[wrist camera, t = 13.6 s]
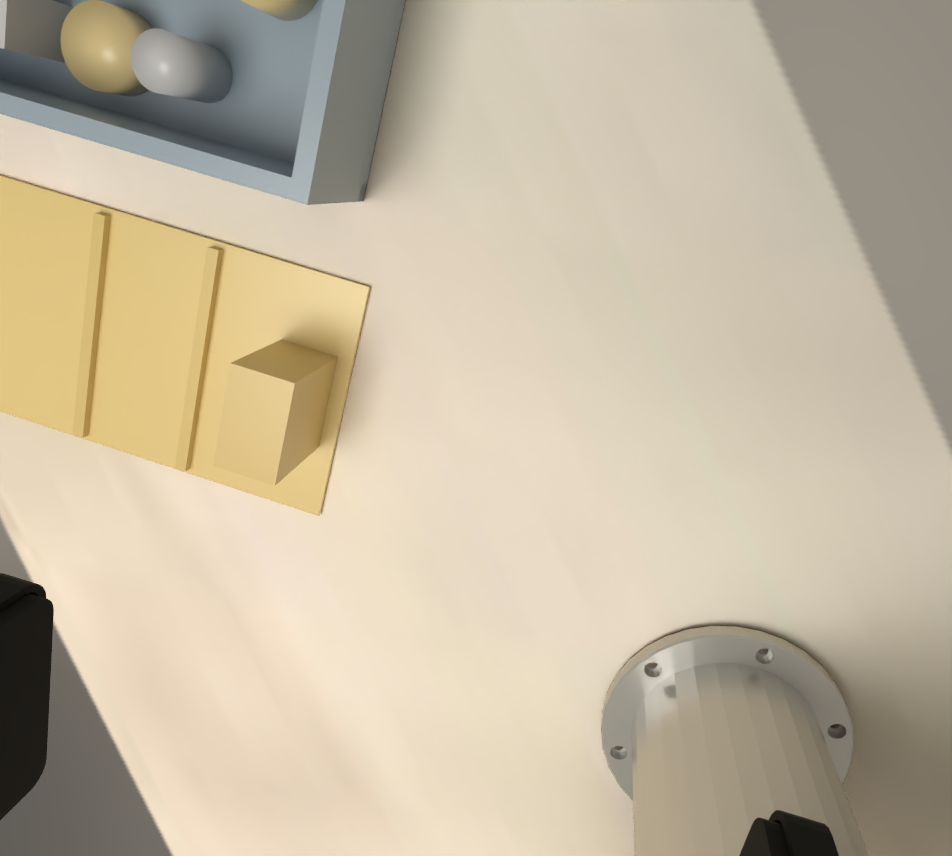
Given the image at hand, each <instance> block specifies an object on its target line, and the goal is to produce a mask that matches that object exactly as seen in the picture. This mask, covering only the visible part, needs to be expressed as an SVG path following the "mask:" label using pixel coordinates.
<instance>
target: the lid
mask: <svg viewBox="0 0 952 856" xmlns="http://www.w3.org/2000/svg"><path fill="white" fill-rule="evenodd" d="M370 288H371V287H370V286H367V285H364V284H360V283H357V282H354V281H350V280H347V279H344V278H341V277H337V276H334V275H331V274H327V273H324V272H321V271H317V270H314V269H311V268H307V267H304V266H301V265H297V264H294V263H291V262H288V261H284V260H281V259H278V258H274V257H271V256H268V255H264V254H261V253H258V252H254V251H251V250H248V249H244V248H241V247H238V246H234V245H231V244H228V243H225V242H221V241H218V240H215V239H211V238H208V237H205V236H201V235H198V234H195V233H191V232H188V231H185V230H181V229H178V228H175V227H172V226H168V225H165V224H162V223H158V222H155V221H152V220H148V219H145V218H142V217H138V216H135V215H132V214H128V213H125V212H122V211H119V210H115V209H112V208H109V207H105V206H102V205H99V204H95V203H92V202H89V201H85V200H82V199H79V198H75V197H72V196H69V195H66V194H62V193H59V192H56V191H52V190H49V189H46V188H42V187H39V186H36V185H32V184H29V183H26V182H22V181H19V180H16V179H13V178H9V177H6V176H3V175H0V412H3V413H6V414H9V415H12V416H15V417H18V418H21V419H25V420H28V421H31V422H34V423H37V424H40V425H43V426H46V427H49V428H52V429H55V430H58V431H61V432H64V433H67V434H70V435H73V436H76V437H79V438H82V439H86V440H89V441H92V442H95V443H98V444H101V445H104V446H107V447H110V448H113V449H116V450H119V451H122V452H125V453H128V454H131V455H134V456H137V457H140V458H144V459H147V460H150V461H153V462H156V463H159V464H162V465H165V466H168V467H171V468H174V469H177V470H180V471H183V472H186V473H189V474H192V475H195V476H198V477H201V478H205V479H208V480H211V481H214V482H217V483H220V484H223V485H226V486H229V487H232V488H235V489H238V490H241V491H244V492H247V493H250V494H253V495H256V496H259V497H262V498H266V499H269V500H272V501H275V502H278V503H281V504H284V505H287V506H290V507H293V508H296V509H299V510H302V511H305V512H308V513H311V514H314V515H317V516H319V515H320V514H321V511H322V507H323V502H324V498H325V493H326V488H327V484H328V479H329V475H330V470H331V466H332V461H333V457H334V452H335V447H336V443H337V438H338V434H339V429H340V425H341V420H342V416H343V411H344V407H345V402H346V397H347V393H348V388H349V384H350V379H351V375H352V370H353V366H354V361H355V357H356V352H357V347H358V343H359V338H360V334H361V329H362V325H363V320H364V316H365V311H366V307H367V302H368V297H369V293H370Z"/></svg>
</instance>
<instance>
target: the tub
mask: <svg viewBox="0 0 952 856" xmlns="http://www.w3.org/2000/svg"><path fill="white" fill-rule="evenodd" d="M404 4H405V0H0V114H3V115H6V116H10V117H13V118H17V119H20V120H23V121H27V122H30V123H33V124H37V125H40V126H44V127H47V128H50V129H54V130H57V131H60V132H64V133H67V134H71V135H74V136H77V137H81V138H84V139H87V140H91V141H94V142H97V143H101V144H104V145H108V146H111V147H114V148H118V149H121V150H124V151H128V152H131V153H135V154H138V155H141V156H145V157H148V158H151V159H155V160H158V161H162V162H165V163H168V164H172V165H175V166H178V167H182V168H185V169H189V170H192V171H195V172H199V173H202V174H205V175H209V176H212V177H216V178H219V179H222V180H226V181H229V182H232V183H236V184H239V185H243V186H246V187H249V188H253V189H256V190H259V191H263V192H266V193H269V194H273V195H276V196H280V197H283V198H286V199H290V200H293V201H296V202H300V203H303V204H307V205H311V204H327V203H342V202H358V201H363V200H364V195H365V190H366V185H367V181H368V176H369V171H370V166H371V162H372V157H373V152H374V147H375V142H376V138H377V133H378V128H379V123H380V119H381V114H382V109H383V104H384V100H385V95H386V90H387V85H388V81H389V76H390V71H391V66H392V61H393V57H394V52H395V47H396V42H397V38H398V33H399V28H400V23H401V19H402V14H403V9H404Z"/></svg>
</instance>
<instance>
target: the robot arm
mask: <svg viewBox="0 0 952 856" xmlns="http://www.w3.org/2000/svg"><path fill="white" fill-rule="evenodd" d="M52 630H53V604H52V602H51V601H50V600H48V599H46V592H45V590H44V588H43V587H42V586H40V585H39V584H36V583H32V582H29V581H26V580H22V579H19V578H16V577H13V576H9V575H6V574H1V573H0V820H1V819H2V818H3V817H4V816H5V815H6V814H7V813H8V812H9V811H10V810H11V809H12V808H13V807H14V806H15V805H16V804H17V803H18V802H19V801H20V800H21V799H22V798H23V797H24V796H25V795H26V794H27V793H28V792H29V791H30V790H31V789H32V788H33V787H34V786H35V784H36V783H37V781H38V780H39V778H40V776H41V774H42V772H43V770H44V767H45V764H46V755H47V736H48V714H49V694H50V673H51V653H52ZM763 648H764V649H763ZM760 649H763V650H760ZM651 662H653V663H651ZM601 733H602V745H603V751H604V754H605V757H606V760H607V764H608V767H609V769H610V770H611V772H612V774H613V776H614V777H615V779H616V781H617V783H618V784H619V786H620V787H621V788H622V789H623V790H624V792H625V793H626V794H627V795H628V796H629V797H630V799H631V800H632V801H633V816H634V851H635V856H869V855H868V852H867V849H866V847H865V844H864V841H863V839H862V836H861V834H860V831H859V828H858V826H857V823H856V820H855V818H854V815H853V812H852V810H851V807H850V804H849V802H848V799H847V796H846V794H845V791H844V788H843V786H842V784H843V782H844V780H845V778H846V776H847V773H848V771H849V768H850V766H851V763H852V757H853V750H854V734H853V723H852V720H851V717H850V715H849V712H848V709H847V706H846V703H845V701H844V699H843V697H842V695H841V693H840V691H839V689H838V687H837V685H836V683H835V682H834V681H833V680H832V678H831V677H830V676H829V674H828V673H827V672H826V671H825V669H824V668H823V667H822V666H821V665H820V664H819V663H818V662H816V661H815V660H814V659H813V658H812V657H811V656H809V655H808V654H807V653H806V652H805V651H803V650H801V649H799V648H798V647H796V646H794V645H793V644H791V643H789V642H787V641H786V640H784V639H781V638H778V637H776V636H773V635H770V634H768V633H765V632H762V631H757V630H752V629H747V628H742V627H734V626H708V627H700V628H693V629H687V630H684V631H681V632H678V633H674V634H671V635H668V636H665V637H663V638H661V639H659V640H658V641H656V642H654V643H652V644H650V645H648V646H646V647H645V648H644V649H642V650H641V651H640V652H638V653H637V654H636V655H635V656H633V657H632V658H631V659H629V661H628V662H627V663H626V664H625V665H624V667H623V668H622V669H621V670H620V671H619V672H618V674H617V675H616V677H615V678H614V680H613V682H612V684H611V686H610V688H609V690H608V692H607V695H606V699H605V702H604V706H603V710H602V725H601Z"/></svg>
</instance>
